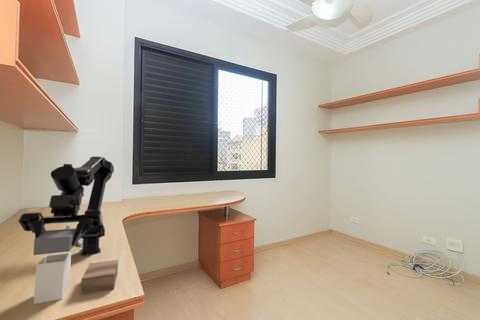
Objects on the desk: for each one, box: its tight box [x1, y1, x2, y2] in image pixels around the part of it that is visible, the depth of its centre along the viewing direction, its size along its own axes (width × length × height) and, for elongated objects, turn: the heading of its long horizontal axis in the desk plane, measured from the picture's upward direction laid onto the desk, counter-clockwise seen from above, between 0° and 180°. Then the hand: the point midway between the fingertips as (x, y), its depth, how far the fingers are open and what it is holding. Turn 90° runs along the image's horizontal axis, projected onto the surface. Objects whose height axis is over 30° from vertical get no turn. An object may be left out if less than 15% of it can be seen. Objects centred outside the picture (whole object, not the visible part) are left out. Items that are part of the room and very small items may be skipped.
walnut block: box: [80, 259, 119, 296], centre depth 66 cm, size 10×8×4 cm
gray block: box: [33, 227, 77, 256], centre depth 60 cm, size 8×7×4 cm
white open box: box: [33, 252, 72, 305], centre depth 59 cm, size 6×6×10 cm
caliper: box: [65, 224, 83, 248], centre depth 99 cm, size 20×1×6 cm, turn 55°
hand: (55, 247), depth 59 cm, fingers closed on gray block, 7 cm apart
